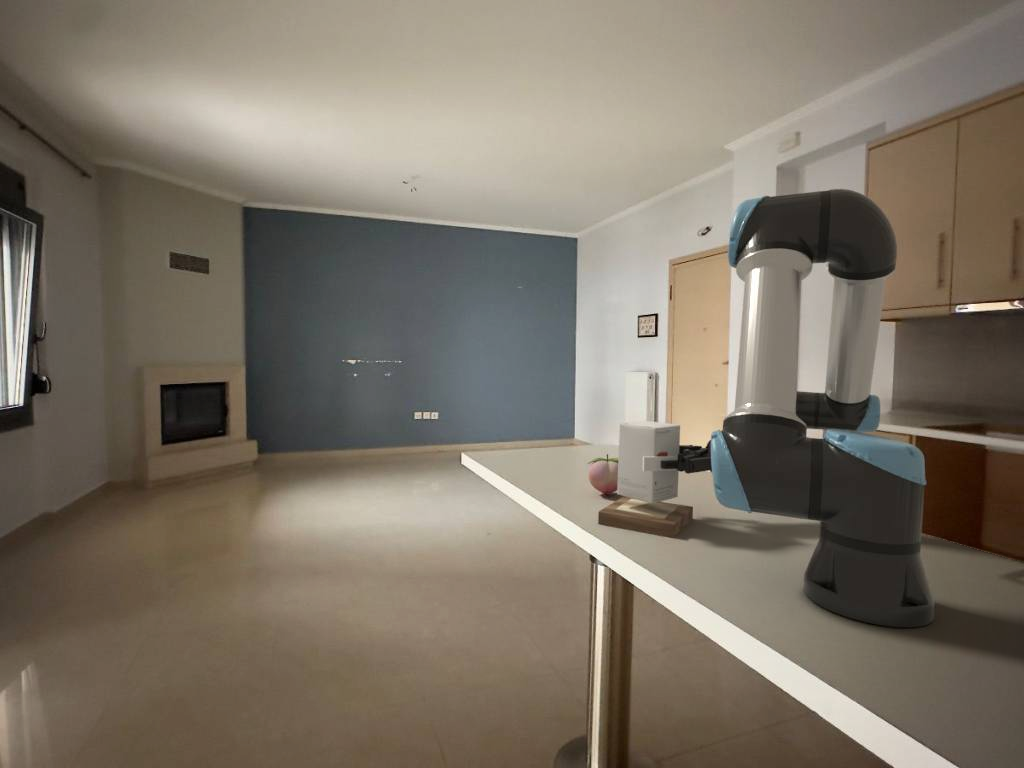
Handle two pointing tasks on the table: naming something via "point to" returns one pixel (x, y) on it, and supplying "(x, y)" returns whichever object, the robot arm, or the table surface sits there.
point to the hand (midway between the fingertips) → (631, 457)
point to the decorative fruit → (604, 474)
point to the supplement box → (645, 443)
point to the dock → (646, 516)
